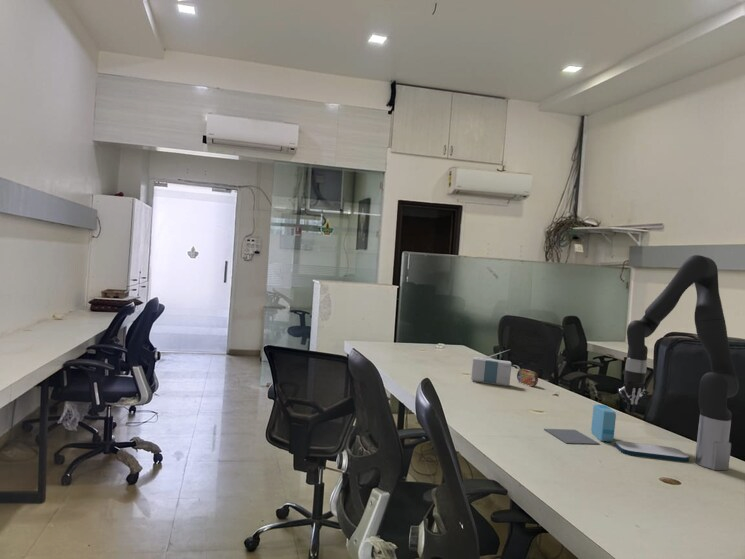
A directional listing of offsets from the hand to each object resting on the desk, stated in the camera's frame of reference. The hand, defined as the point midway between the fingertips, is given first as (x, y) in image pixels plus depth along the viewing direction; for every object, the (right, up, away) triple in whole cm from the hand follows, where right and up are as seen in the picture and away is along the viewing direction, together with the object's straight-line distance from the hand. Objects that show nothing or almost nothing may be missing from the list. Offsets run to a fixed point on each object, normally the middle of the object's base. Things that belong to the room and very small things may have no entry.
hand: (630, 413), depth 207 cm
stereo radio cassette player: (-37, -5, +85) cm, 92 cm away
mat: (-26, -8, -5) cm, 28 cm away
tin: (-15, -7, +90) cm, 92 cm away
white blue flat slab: (-1, -11, -16) cm, 20 cm away
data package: (-13, -9, -2) cm, 16 cm away
